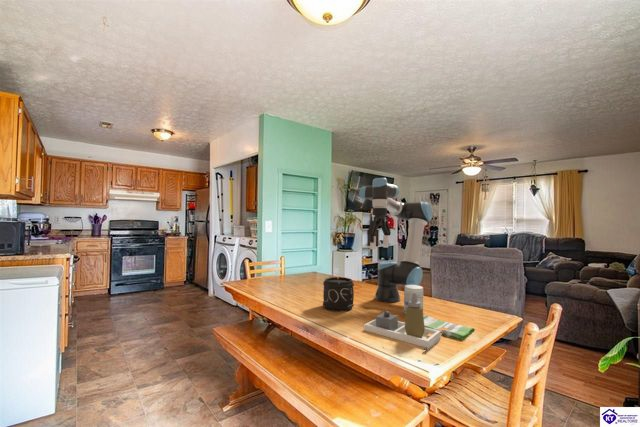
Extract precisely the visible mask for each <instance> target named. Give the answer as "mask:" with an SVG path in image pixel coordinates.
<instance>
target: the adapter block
mask: <svg viewBox="0 0 640 427" xmlns="http://www.w3.org/2000/svg"><path fill="white" fill-rule="evenodd" d="M398 317H399V316H398V315H395V314H391V312H390V311H389V310H384V311H383V312H381V313H380V314H378V315H376V316H375V319H376V327H380V328H383V329H387V330H391V331H395V330H397V329H398V321H399V318H398Z"/></svg>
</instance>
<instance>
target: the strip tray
mask: <svg viewBox="0 0 640 427" xmlns="http://www.w3.org/2000/svg"><path fill="white" fill-rule="evenodd" d="M363 330H364V331H366V332H370V333H372V334H377V335H380V336H384V337H388V338H390V339H394V340H398V341H400V342H404V343H409V344H412V345H415V346H418V347H419V346H420V347H422V348H423V350H424V351H430V349H432V348H433V347H434V346H435V345H436V344H437V343H439V342H440V341H441V333H440V331H438V330H433V329H429V328H425V331H424V333H423V336H422V338H417V337H414V336H410V335H407V334H406V330H405V321H399V320H398V329H397V330H395V331H391V330H387V329H383V328H380V327H376V318H375V319H372V320H371V321H368V322H366V323H364V327H363Z"/></svg>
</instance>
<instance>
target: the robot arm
mask: <svg viewBox="0 0 640 427" xmlns="http://www.w3.org/2000/svg"><path fill="white" fill-rule="evenodd" d="M399 188H400V187H398V186H397V185H395V184H393V183H392V184H391V183H388V180H387V178H386V177H376V178H374V179H373V180H372V185H364V186H362V187H360V188H359V192H358V194H359V195H358V196H359V197H360V198H361V199H362V200H369V201H372V202H371V204H372V210H371V211H372V212H371V214H372V216H371V218H370V224H369V227H368V231H367V236H368V237H370V238H369V240H370V241H369V242H370V246H369V249H370V250H376V249H377V248H376V245H377V244H376V242H377V236H375V235H376V233H377V231H378V229H379V227H380V228H381V231H382V232H383V235H382V240H383V242H382V243H383V244H382V248H389V236H391V235H392V234H391V228H390V224H389V218H388V216H387V215H388V211H389V214H390V215H392V216H394V217H396V218H398V219H400V220H403V221H408V222H409V230H408V235H407V240H406V246H405V249H404V257H403V259H401V260H400V262H399V264H398V262H397V261H386V262H385V261H384V262H380V263H379V264H378V265H377V267H378V268H377V278H378V279H377V282H378V283H377V288H376V292H375V295H374V296H375V298H374V299H375V300H376V301H378V302H384V303H398V302H400V301H401V296H400V292H399V289H398V285H401V286H406V285H418V286H420V284H421V282H422V280H423V277H424V276H423V275H424V274H423V272H424V271H423V269H422V268H421V265H420V263H419V260H420V254H421V249H422V242H423V237H424V230H425V226H427V225H428V223H429V221H430V222H431V221H432V219H433V217H434V216H433V214H434V213H433V208H432V206H431V204H430V203H429V202H427V201H420V202H419V201H418V202H414V201H413V202H400V201H398V200H395V199H396V198H397V197H398V196H399V194H400V189H399Z"/></svg>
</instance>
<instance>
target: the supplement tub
mask: <svg viewBox="0 0 640 427" xmlns="http://www.w3.org/2000/svg"><path fill="white" fill-rule="evenodd" d="M403 292H404V295H403V298H404V299H403V307H404V308H403V313H404V315H406V308H407V307H408V306H409V301H411V300H412V296H413V293H416V296H417V300H418V301H419V302H420V307H421V308H422V309H423V310H424V287H423V286H421V285H404V291H403Z"/></svg>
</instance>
